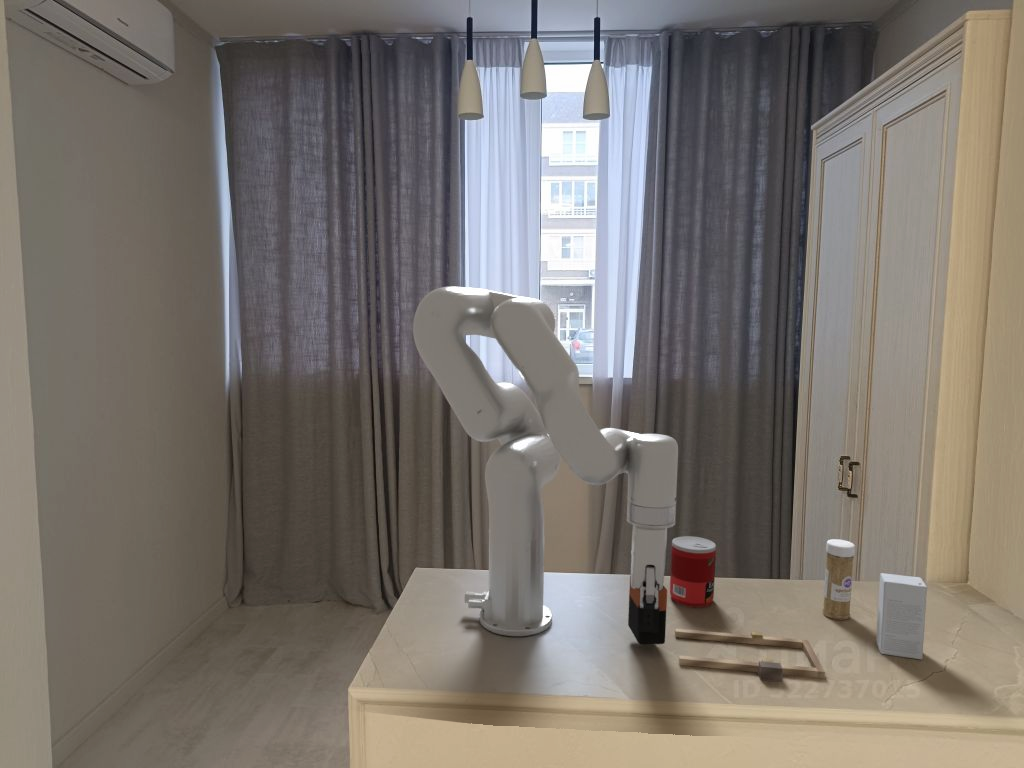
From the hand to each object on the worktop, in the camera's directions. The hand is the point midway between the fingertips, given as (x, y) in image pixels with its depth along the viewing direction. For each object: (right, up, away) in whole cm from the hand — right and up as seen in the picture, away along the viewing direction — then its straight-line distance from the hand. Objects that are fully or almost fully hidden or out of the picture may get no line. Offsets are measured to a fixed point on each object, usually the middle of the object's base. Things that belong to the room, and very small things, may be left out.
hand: (647, 618), depth 110 cm
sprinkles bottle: (+36, -4, +13) cm, 39 cm away
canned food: (+12, -3, +19) cm, 22 cm away
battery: (0, -3, 0) cm, 3 cm away
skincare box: (+40, -5, 0) cm, 41 cm away
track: (+15, -5, -3) cm, 16 cm away
